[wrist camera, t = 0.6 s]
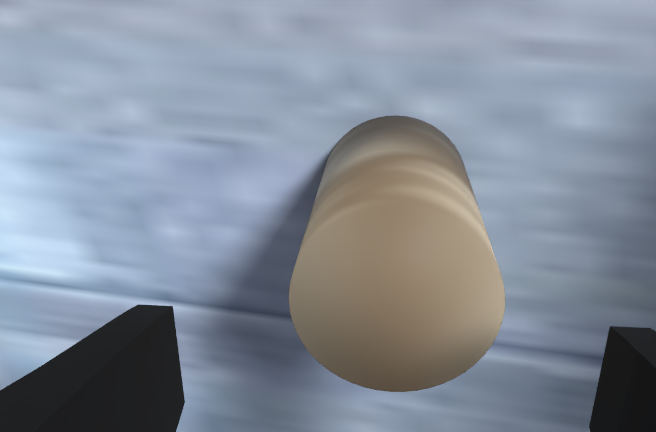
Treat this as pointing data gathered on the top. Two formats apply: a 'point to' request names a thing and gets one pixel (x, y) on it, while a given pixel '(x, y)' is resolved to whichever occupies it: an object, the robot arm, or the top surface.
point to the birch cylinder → (396, 262)
